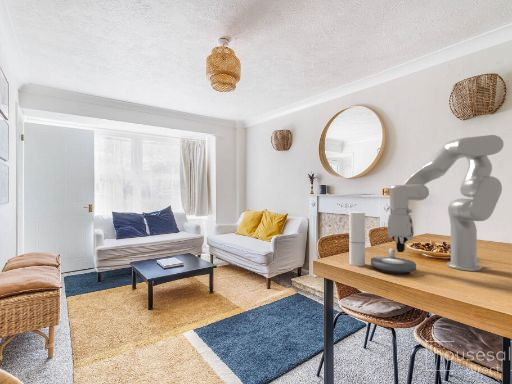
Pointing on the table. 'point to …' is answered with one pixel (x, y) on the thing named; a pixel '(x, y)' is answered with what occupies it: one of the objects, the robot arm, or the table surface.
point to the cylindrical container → (357, 238)
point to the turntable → (393, 263)
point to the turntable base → (392, 271)
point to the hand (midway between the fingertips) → (400, 251)
